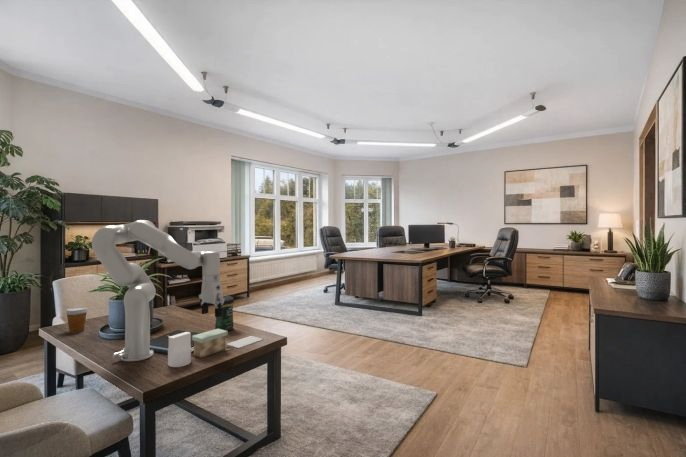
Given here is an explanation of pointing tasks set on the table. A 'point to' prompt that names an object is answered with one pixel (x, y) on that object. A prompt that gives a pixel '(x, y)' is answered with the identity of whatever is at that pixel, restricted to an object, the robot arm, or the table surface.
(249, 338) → the felt mat
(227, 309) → the coffee jar
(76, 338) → the table surface
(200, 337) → the lid
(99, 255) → the robot arm
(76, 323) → the disposable coffee cup
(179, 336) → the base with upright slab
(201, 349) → the pencil box
